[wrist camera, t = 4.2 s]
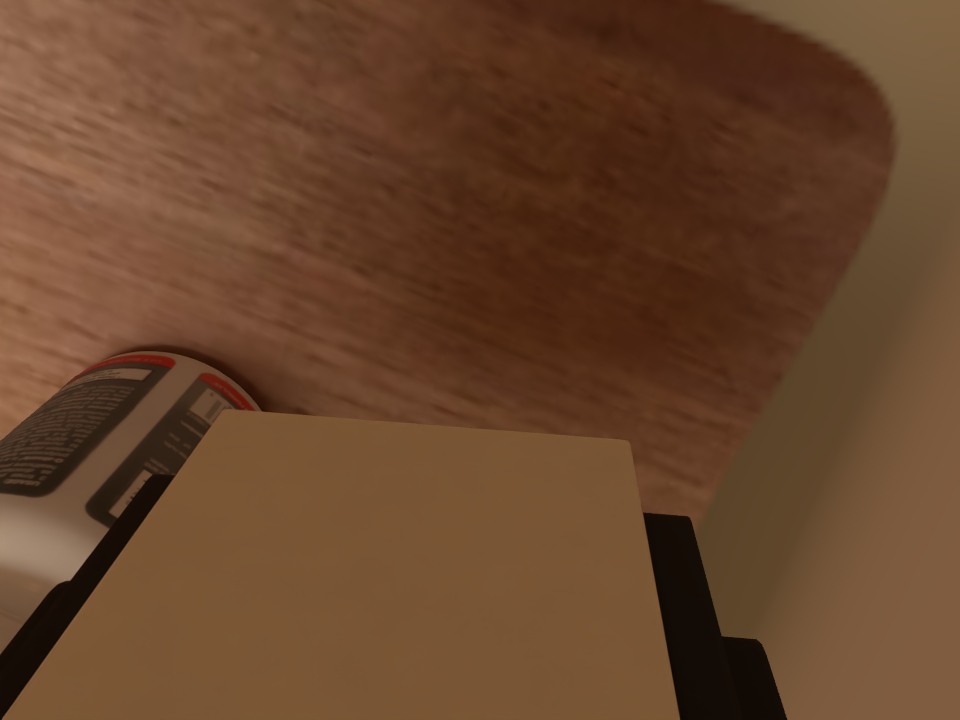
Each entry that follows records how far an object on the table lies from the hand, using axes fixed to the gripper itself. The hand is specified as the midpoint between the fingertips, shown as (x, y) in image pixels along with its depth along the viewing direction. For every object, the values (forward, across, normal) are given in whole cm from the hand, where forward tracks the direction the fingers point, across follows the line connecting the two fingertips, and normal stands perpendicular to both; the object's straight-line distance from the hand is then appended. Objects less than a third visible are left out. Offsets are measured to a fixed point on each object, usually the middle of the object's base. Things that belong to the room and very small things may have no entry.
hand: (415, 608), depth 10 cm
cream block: (0, 0, 0) cm, 0 cm away
